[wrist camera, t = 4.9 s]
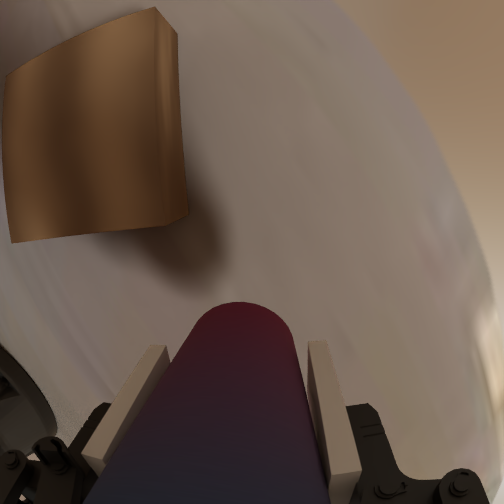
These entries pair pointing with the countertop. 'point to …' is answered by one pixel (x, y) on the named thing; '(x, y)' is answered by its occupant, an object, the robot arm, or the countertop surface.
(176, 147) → the base block
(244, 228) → the countertop surface
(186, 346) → the cup
